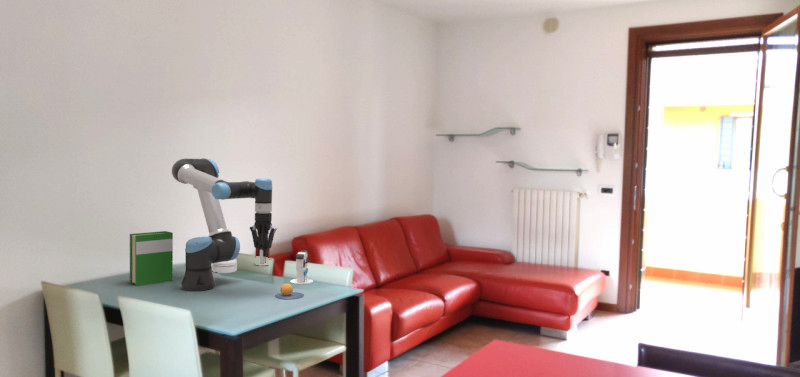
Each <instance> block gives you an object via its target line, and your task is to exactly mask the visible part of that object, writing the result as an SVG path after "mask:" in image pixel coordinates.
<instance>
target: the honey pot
mask: <svg viewBox="0 0 800 377" xmlns="http://www.w3.org/2000/svg"><path fill="white" fill-rule="evenodd" d="M237 270H238V260H237V257H236V258H235V259H234V260H230V261H227V262H226V261H224V262H218V263H212V271H213V272H212V273H215V272H218V273H217V274H229V273H235V272H237Z"/></svg>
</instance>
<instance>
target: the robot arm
mask: <svg viewBox="0 0 800 377" xmlns="http://www.w3.org/2000/svg"><path fill="white" fill-rule="evenodd" d="M219 169H220V168H219V166H218V164H217V163H216V162H215V161H214V159H213V160H212V159H211V158H210V159H208V158H205V157H204V158H181V159H179V160H177V161H175V162H174V164H173V166H172V168H171V175H172V177H173V178H174V180H176V181H177V182H179V183H180V184H181V183H182V184H183V185H186V184H189V185H191V186H192V187H193V188H194V189H196V190H197V193H198V198H199V200H200V204H201V207H202V211H203V215H204V216H203V217H204V218H205V222H206V226H207V229H208V233H209V234H208V236H197V237H193V238H189V239H187V241H186V243H185V249H184V250H185V251H184V252H185V272H184V275H183V278H182V281H181V286H180V287H181V290H184V291H191V292H198V291H207V290H212V289H214V288H216V280H215V277H214V274H213V272H212V263H218V262H224V261H226V262H227V261H230V260H234V259H235V258H236V259H237V258H238V256H239V254H240V252H241V251H240V250H241V243H240V240H239V238H237V237H236V236H235V235H233V234H232V231H231V230H229V229H228V228H227V225H226V221H225V217H224V212H223V210H222V206H221V204H220V203H221V202H220V200H221V201H223V200H234V199H237V200H238V199H254V200H255V201H254V212H255V213H254V224H253V225H252V226H250V227H249V230H250V233H251V236H252V242H253V247H254V248H255V249H256V248H258V256H260V264H264V263H266V256H267V249H269V248H270V249H271V248H272V245H273V240H274V238H275V233H276V231H277V228H276V227H274V226H273V224H272V219H273V216H272V215H273V214H272V212H273V209H272V207H273V180H272V179H271V178H260V177H259V178H255V181H249V180H247V181H245V180H243V181H238V182H237V181H230V182H229V181H226V180H224V179H221V178H220V177H219V176H220V175H219V174H220V170H219ZM262 248H263V249H262Z"/></svg>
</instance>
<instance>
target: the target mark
mask: <svg viewBox="0 0 800 377" xmlns="http://www.w3.org/2000/svg"><path fill="white" fill-rule="evenodd" d="M274 297H275V298H276V299H279V300H297V299H301V298H304V297H305V294H304V293H302V292H298V291H297V292H296V291H293V292H292V293H291V294H290V295H288V296H284V295H283V294H282V293H281V292H277V293H275V295H274Z"/></svg>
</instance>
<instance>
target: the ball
mask: <svg viewBox="0 0 800 377" xmlns="http://www.w3.org/2000/svg"><path fill="white" fill-rule="evenodd" d="M293 288H294V287H293V286H292V284H290V283H283V284H282V285H281V287H280V293H282V294H283V295H284V296H288V295H290V294H291V293H292V292H294V289H293Z"/></svg>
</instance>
